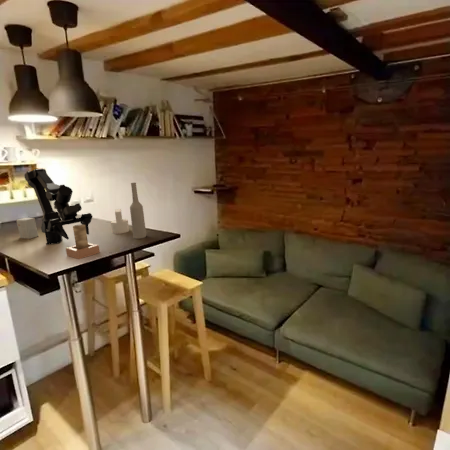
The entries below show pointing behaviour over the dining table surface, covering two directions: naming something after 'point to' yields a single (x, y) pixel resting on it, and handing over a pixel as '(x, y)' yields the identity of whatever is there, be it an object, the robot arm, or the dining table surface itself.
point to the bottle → (137, 215)
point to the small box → (27, 228)
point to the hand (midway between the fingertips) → (78, 236)
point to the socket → (82, 251)
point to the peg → (80, 236)
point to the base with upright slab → (119, 223)
